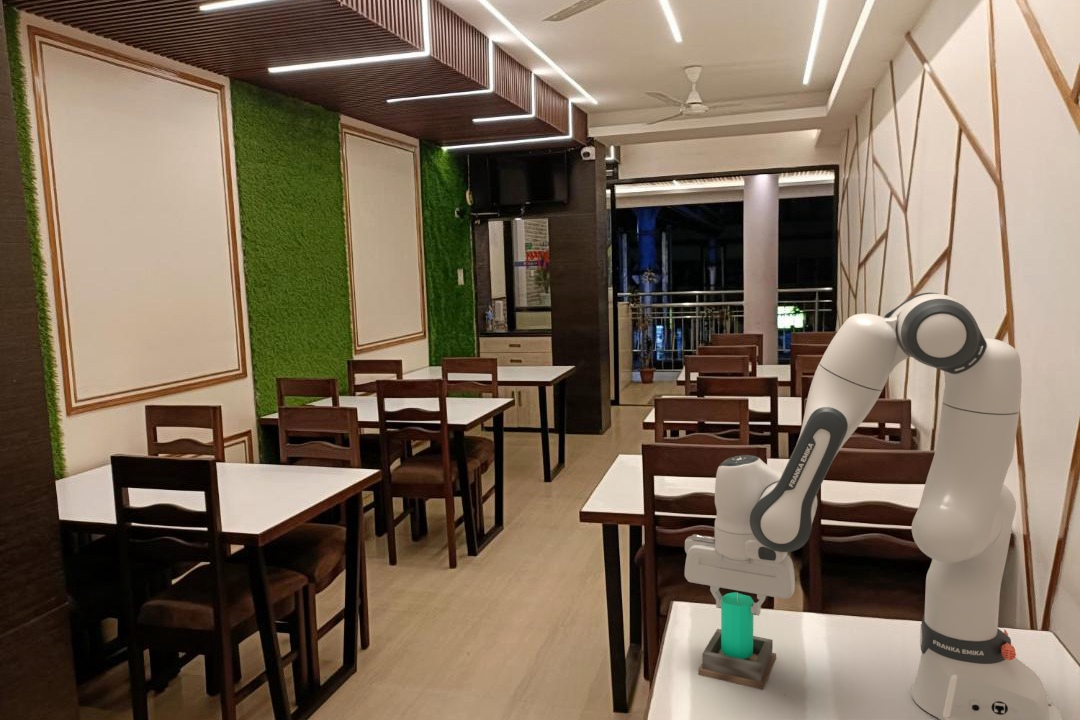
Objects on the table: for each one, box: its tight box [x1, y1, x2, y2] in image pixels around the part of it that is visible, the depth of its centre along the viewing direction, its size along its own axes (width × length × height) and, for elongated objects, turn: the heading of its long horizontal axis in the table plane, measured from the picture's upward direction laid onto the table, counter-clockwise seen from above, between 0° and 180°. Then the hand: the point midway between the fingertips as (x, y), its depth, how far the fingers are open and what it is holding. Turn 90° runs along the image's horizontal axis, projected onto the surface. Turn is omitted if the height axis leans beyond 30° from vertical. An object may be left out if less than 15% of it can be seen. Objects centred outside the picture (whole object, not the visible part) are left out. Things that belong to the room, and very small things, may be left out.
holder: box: [697, 628, 777, 690], centre depth 147 cm, size 12×12×4 cm
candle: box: [720, 591, 755, 659], centre depth 147 cm, size 6×6×12 cm
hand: (738, 610), depth 146 cm, fingers closed on candle, 5 cm apart
